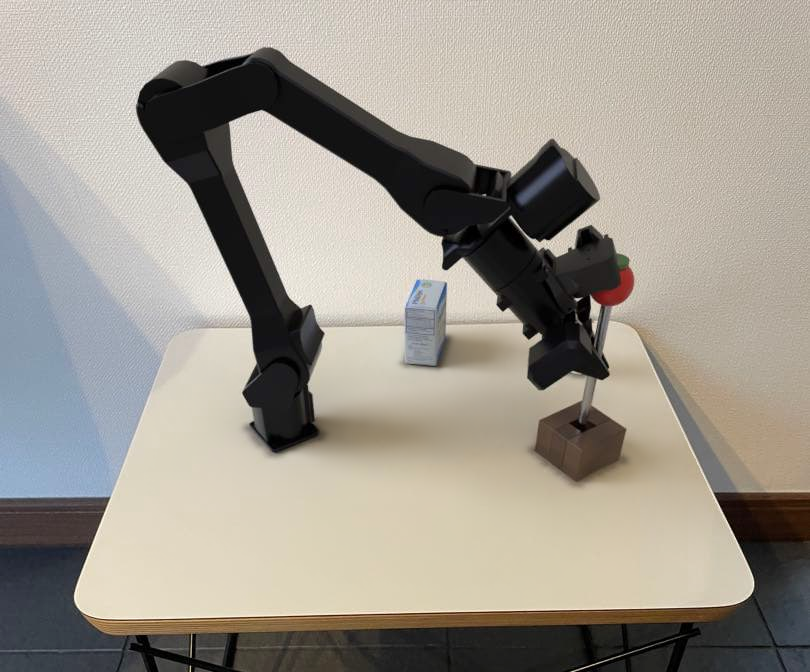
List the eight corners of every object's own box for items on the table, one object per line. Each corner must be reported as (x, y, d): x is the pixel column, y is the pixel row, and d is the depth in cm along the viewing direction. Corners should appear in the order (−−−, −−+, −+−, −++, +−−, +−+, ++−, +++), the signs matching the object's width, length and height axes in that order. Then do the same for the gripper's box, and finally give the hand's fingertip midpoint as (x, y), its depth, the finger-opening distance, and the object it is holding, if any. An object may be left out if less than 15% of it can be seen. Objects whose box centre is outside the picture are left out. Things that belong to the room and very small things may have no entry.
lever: (582, 438, 85) (616, 273, 71) (555, 419, 87) (583, 256, 74) (610, 425, 86) (649, 261, 73) (583, 406, 89) (615, 244, 75)
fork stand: (575, 482, 87) (582, 451, 84) (534, 450, 91) (539, 419, 88) (619, 459, 90) (627, 428, 86) (577, 430, 94) (583, 399, 90)
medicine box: (436, 367, 104) (438, 308, 97) (404, 364, 104) (403, 305, 98) (445, 338, 109) (448, 280, 103) (415, 334, 110) (415, 277, 104)
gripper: (583, 258, 64) (684, 380, 71) (579, 176, 77) (664, 286, 84) (482, 335, 71) (584, 441, 77) (494, 247, 84) (580, 344, 90)
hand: (605, 373), depth 82 cm, fingers closed on lever
